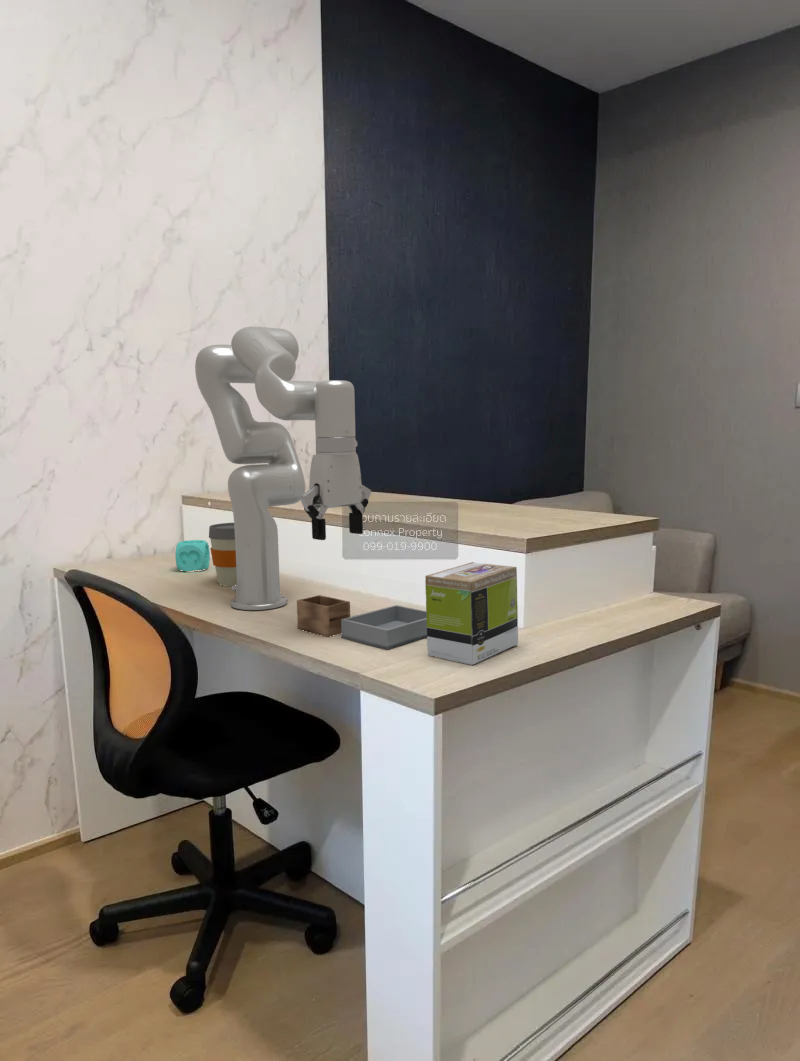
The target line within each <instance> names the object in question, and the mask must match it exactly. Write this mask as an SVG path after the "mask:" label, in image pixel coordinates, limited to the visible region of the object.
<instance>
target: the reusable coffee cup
mask: <svg viewBox="0 0 800 1061" xmlns="http://www.w3.org/2000/svg"><path fill="white" fill-rule="evenodd" d="M208 539H210V545H211V547H209V550H210V555H211V560H212V565H213V566H214V567H215V571H216V572H215V573H216V578H217V584H218V583H219V584H221V585H220V586H222V585H226V586H225V587H232V586H233V585H236V583H237V570H236V548H235V529H234V522H225V523H223V522H222V523H216V524H211V525H209V529H208ZM219 584H218V585H219Z"/></svg>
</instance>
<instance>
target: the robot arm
mask: <svg viewBox="0 0 800 1061" xmlns="http://www.w3.org/2000/svg"><path fill="white" fill-rule="evenodd" d="M299 352H300V350H299V342H298V340H297V338H296V336H295V335H294V334H293V333H292V332H290V331H289V330H287V329H284V328H279V327H278V328H277V327H265V326H264V327H263V326H245V327H243V328H240V329H238V330H237V331H236V332H235V333H234V334H233V336H232V338H231V342H230V344H212V345H208V346H205V347H203V348H202V349H201V350H200V351H199V352H198V353H197V356H196V358H195V365H194V369H195V370H194V372H195V378H196V382H197V386H198V389H199V391H200V393H201V396H202V398H203V399H204V401H205V403H206V404H207V406H208V408H209V411H210V412H211V414H212V418H213V420H214V421H213V422H214V425H215V427H216V431H217V434H218V435H217V436H218V437H219V441H220V444H221V447H222V450H223V453H224V456H225V458H226V459H227V460H228V462H231V463H232V464H236V465H243V466H239V467H238V468H235V469H234V470H232V471H231V473H230V474H229V476H228V479H227V490H228V495H229V498H230V499H229V500H230V504H231V509H232V515H233V523H234V529H235V548H236V570H237V583H236V586H235V585H233V586H230V587H231V591H232V592H235V597H234V598H232V599H231V600H230V606H231V607H232V608H234V609H236V610H242V611H243V610H244V611H262V610H263V611H264V610H271V609H276V608H280V607H282V606H285V605H286V604H287V603H288V597H287V596H286V595H284V594H281V582H280V580H281V579H280V556H279V555H280V553H279V551H280V550H279V532H278V531H279V530H278V525H277V523H276V520H275V519H274V516H272V513H270V511H269V509H268V508H270V507H278V506H289V505H294V504H296V503H299V502H301V504H302V506H303V510H304V512H305V513H306V514H307V515H308V518H309V519H311V538H312V540H318V541H325V540H326V539H327V535H326V534H327V531H326V530H327V527H326V525H327V524H326V518H323V517H324V515H325V514H326V513H327V510H328V509H329V508H330V509H331V508H332V509H333V508H341V507H348V509H349V510H350V512H349V513H348V521H349V522H348V524H349V525H348V526H349V529H348V530H349V533H350V534H355V535H362V534H363V533H364V527H363V526H364V524H363V523H364V520H363V517H364V516H363V514H365V512H366V508H367V506H368V505H369V500H370V497H371V495H372V494H371V493H372V490H371V489H370V488H368V486H367V487H366V486H365V485H363V484H362V474H361V473H362V472H361V466H360V460H359V455H358V453H357V452H356V449H357V448H356V447H358V440H356V411H355V410H356V409H355V408H356V405H355V398H356V397H355V387H354V385H353V383H352V382H350V381H348V380H341V379H340V380H339V379H336V380H335V379H333V380H332V379H330V380H321V381H309V380H292V379H293V378H294V376H295V374H296V370H297V369H296V368H297V363H296V362H297V361H298V357H299ZM231 384H254V388H255V393H256V397H257V400H258V402H259V404H260V405H261V406H262V407H263V408H265V410H266V411H268V413H270V414H271V415H272V417H275V418H276V419H279V420H281V421H314V430H315V454H313V455H312V456H311V457H312V458H311V463H310V470H309V482H308V483H309V484H308V490H307V491H306V480H305V475H304V472H303V469H302V466H301V462H300V460H299V456H298V454H297V451H296V447H295V445H294V441H293V439H292V436H291V434H290V432H289V430H288V429H287V428H286V427H285V426H284V425H282V424H281V423H279V422H275V421H258V420H256V419H255V418H254V417H253V415H252V411H251V409H250V405H249V402H247V400H246V399H245V397H244V396H243V395H242V394H241V393H240V392H239V391H238V390H237V389H235V388H234V387H233V386H232V385H231Z"/></svg>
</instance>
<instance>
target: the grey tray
mask: <svg viewBox="0 0 800 1061" xmlns="http://www.w3.org/2000/svg"><path fill="white" fill-rule="evenodd" d="M341 631H342V634H341V639H344V640H349V641H352V642H357V643H360V644H362V645H367V646H369V647H370V646H371V647H375V648H379V649H382V650H386V651H388V650H392V649H395V648H398V647H401V646H404V645H408V644H410V643H414V642H417V641H421V640H423V639H427V613H426V610H424V609H423V610H422V609H417V608H414V607H407V606H404V605H397V604H395V605H391V606H388V607H384V608H380V609H375V610H371V611H369V612H365V613H364V612H363V613H361V614H357V615H353V616H350V617H349V618H345V619H341Z"/></svg>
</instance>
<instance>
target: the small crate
mask: <svg viewBox="0 0 800 1061" xmlns="http://www.w3.org/2000/svg"><path fill="white" fill-rule="evenodd" d="M296 615H297V616H296V618H297V619H296V620H297V630H298V629H300V630H299V631H302V630H304V631H303V632H305V631H307V632H306V633H309V632H311V633H310V634H313V633H315V634H314V635H317V634H318V636H320V635H322V636H321V637H324V636H325V638H331V637H334V636H333V635H335V636H338V635H342V634H341V633H342V631H341V619H345V618H349V617H351V601H350V600H349V601H348V600H344V599H339V598H334V597H330V596H326V595H322V594H321V595H314V596H310V597H306V598H302V599H298V600H296ZM337 634H338V635H337ZM330 636H331V637H330Z"/></svg>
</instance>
